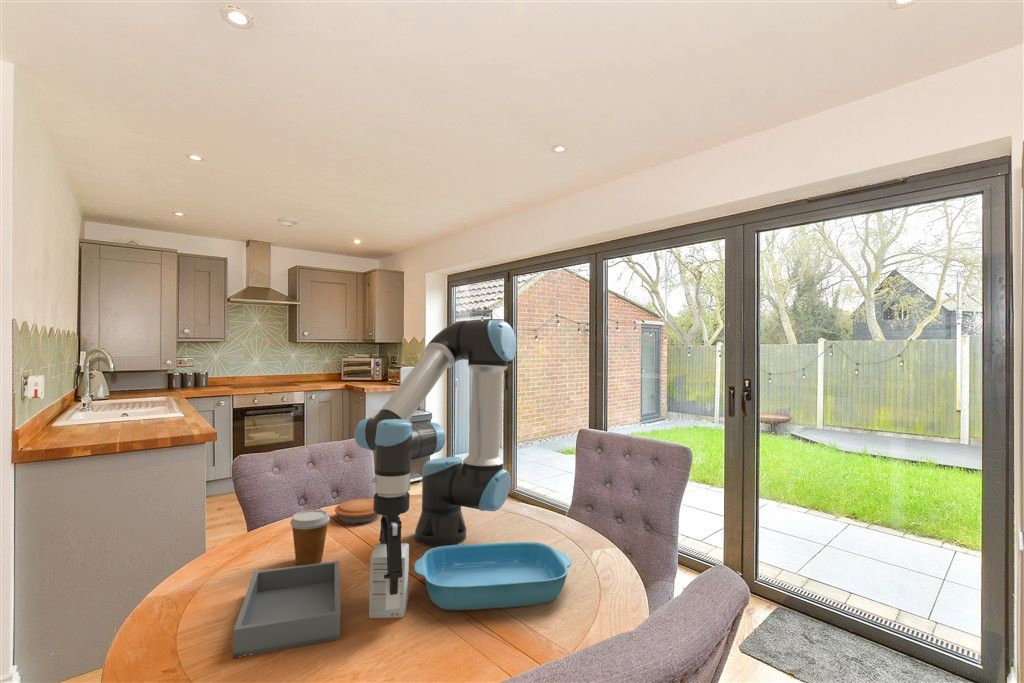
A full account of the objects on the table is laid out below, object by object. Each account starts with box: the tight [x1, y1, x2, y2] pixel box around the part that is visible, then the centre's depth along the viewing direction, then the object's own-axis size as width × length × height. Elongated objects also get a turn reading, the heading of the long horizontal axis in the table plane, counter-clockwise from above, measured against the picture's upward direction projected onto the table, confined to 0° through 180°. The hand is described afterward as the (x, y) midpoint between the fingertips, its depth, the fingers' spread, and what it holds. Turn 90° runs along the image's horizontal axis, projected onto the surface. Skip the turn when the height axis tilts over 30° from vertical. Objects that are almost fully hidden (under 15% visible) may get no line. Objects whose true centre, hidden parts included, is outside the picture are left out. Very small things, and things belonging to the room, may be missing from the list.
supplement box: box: [368, 542, 410, 619], centre depth 103 cm, size 7×7×13 cm
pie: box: [334, 498, 379, 524], centre depth 158 cm, size 15×16×5 cm
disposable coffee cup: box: [290, 509, 331, 566], centre depth 125 cm, size 10×10×12 cm
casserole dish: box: [413, 541, 572, 611], centre depth 112 cm, size 37×22×7 cm, turn 102°
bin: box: [232, 560, 342, 659], centre depth 100 cm, size 18×24×5 cm
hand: (388, 592), depth 102 cm, fingers open, 13 cm apart
